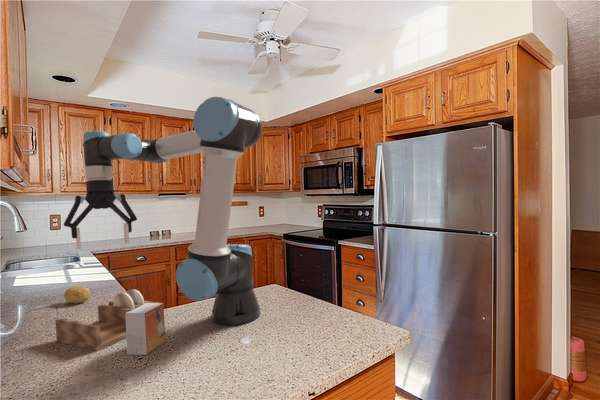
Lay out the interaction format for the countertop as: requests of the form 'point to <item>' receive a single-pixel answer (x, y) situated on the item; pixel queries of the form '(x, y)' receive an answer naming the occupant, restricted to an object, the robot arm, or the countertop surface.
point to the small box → (145, 328)
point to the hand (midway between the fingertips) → (104, 245)
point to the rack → (101, 323)
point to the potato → (77, 294)
